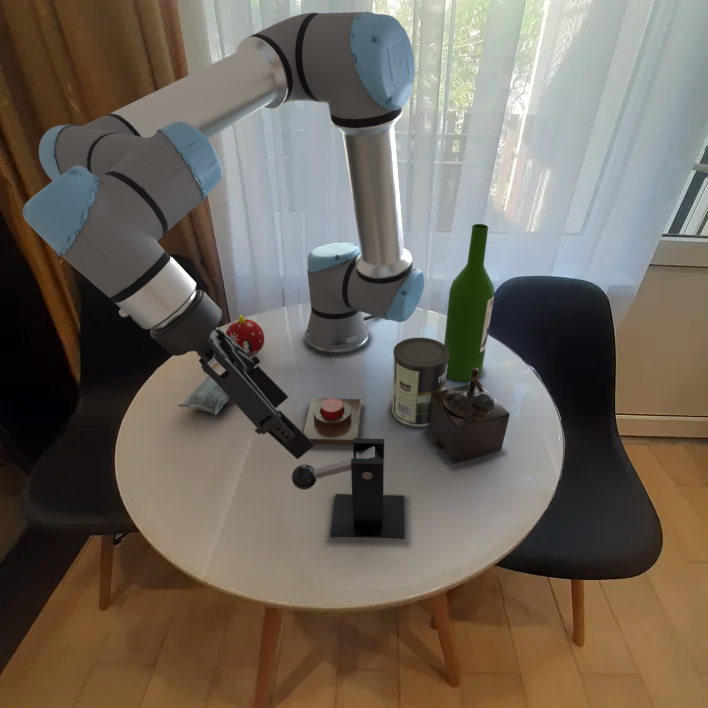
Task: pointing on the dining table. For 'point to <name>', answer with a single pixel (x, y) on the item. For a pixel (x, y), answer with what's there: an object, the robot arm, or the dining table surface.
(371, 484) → the bracket
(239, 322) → the christmas ornament
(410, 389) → the coffee can
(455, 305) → the wine bottle
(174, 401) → the dining table surface
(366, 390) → the dining table surface
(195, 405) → the packaged food
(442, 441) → the brown coffee grinder
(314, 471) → the lever
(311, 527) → the dining table surface
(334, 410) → the button
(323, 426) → the button block
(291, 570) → the dining table surface
